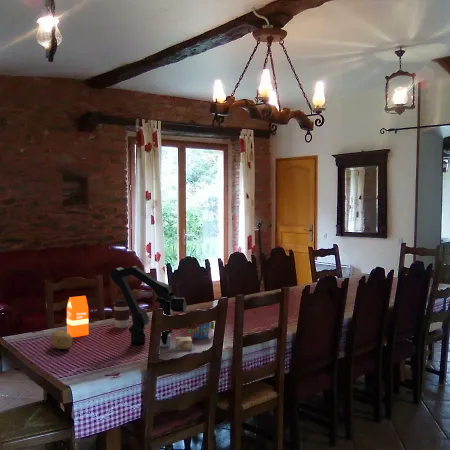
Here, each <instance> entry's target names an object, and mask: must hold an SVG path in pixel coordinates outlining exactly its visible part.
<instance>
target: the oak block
mask: <svg viewBox="0 0 450 450" xmlns="http://www.w3.org/2000/svg"><path fill="white" fill-rule="evenodd" d="M175 340H176V341H175V344H176V347H177V350H178V349H192V344H193V340H192V336H176V337H175Z"/></svg>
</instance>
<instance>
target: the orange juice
mask: <svg viewBox="0 0 450 450" xmlns="http://www.w3.org/2000/svg"><path fill="white" fill-rule="evenodd" d="M66 332H67V333H69V334H70V335H71V336H72V338H76V337H83V336H87V335H88V336H89V306H88V300H87V297H86V295H81V296H79V295H78V296H72V297H71V296H69V299H68V300H67V306H66Z"/></svg>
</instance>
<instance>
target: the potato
mask: <svg viewBox="0 0 450 450" xmlns="http://www.w3.org/2000/svg"><path fill="white" fill-rule="evenodd" d="M50 339H51V340H50V341H51V345H52V347H54V348H56V350H57V349H58V350H67V349H69V348H70V347H71V346H72V344H73V337H72V336H71V335H70V334H69V333H67V331H65V330H64V329H63V330H61V329H57V330H55V331H54V332H52V335H51V338H50Z"/></svg>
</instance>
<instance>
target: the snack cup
mask: <svg viewBox="0 0 450 450" xmlns="http://www.w3.org/2000/svg"><path fill="white" fill-rule="evenodd" d="M186 329H187V328H186ZM191 329H192V328H191ZM191 329H187V333H188V334H191V332H192V336H193V338H194V339H197V340H198V339H199V340H202V339H203V340H204V339H207V338H208V337H209V331H210V329H211V330H213V329H215V324H214V321H213V322H210V323H207V324H203V325H201V326H199V327H197V328H194V329H192V331H191Z"/></svg>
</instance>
